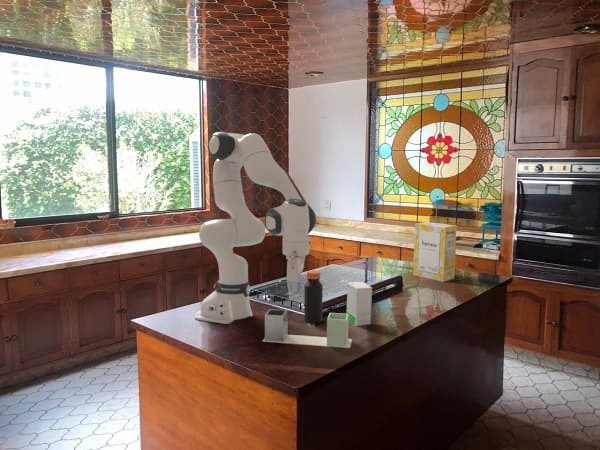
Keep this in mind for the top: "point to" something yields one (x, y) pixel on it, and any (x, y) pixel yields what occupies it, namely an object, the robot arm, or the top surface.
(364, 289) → the skincare box
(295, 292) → the ball slate
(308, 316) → the bottle
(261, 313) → the top surface
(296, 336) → the board
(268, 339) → the tube grey
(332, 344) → the tube sage
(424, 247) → the pasta box
